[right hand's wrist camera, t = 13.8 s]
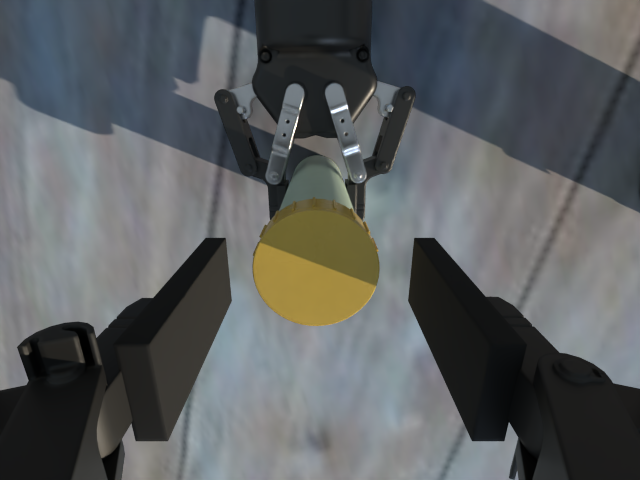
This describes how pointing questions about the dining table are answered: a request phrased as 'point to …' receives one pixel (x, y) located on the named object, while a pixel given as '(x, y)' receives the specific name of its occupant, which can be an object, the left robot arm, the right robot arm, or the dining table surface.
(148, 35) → the dining table surface
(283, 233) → the lid
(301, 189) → the pale green tube
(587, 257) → the dining table surface
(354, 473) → the dining table surface
